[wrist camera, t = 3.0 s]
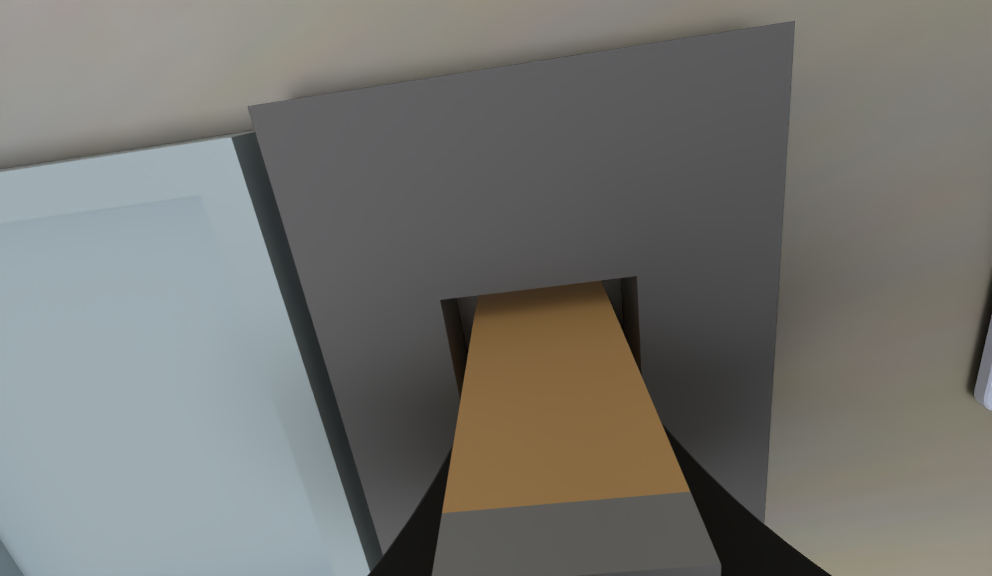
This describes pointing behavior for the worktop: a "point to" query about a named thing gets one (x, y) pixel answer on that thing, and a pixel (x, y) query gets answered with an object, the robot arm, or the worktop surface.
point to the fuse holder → (544, 236)
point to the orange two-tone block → (562, 451)
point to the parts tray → (165, 376)
